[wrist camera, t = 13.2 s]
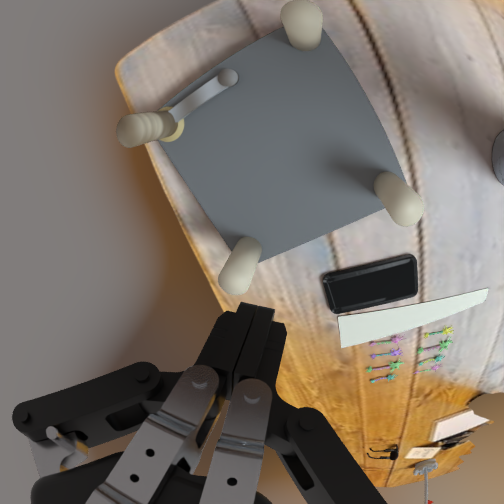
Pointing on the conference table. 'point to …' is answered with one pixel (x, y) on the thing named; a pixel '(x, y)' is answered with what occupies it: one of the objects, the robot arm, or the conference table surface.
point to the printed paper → (403, 323)
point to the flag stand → (422, 469)
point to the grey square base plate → (286, 148)
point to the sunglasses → (392, 455)
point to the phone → (372, 284)
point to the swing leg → (170, 113)
